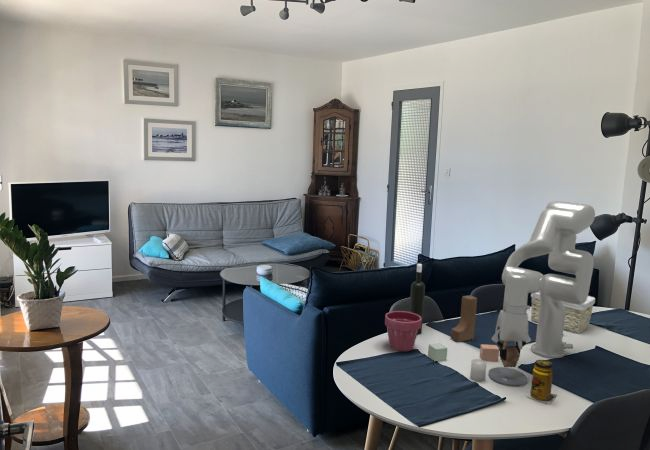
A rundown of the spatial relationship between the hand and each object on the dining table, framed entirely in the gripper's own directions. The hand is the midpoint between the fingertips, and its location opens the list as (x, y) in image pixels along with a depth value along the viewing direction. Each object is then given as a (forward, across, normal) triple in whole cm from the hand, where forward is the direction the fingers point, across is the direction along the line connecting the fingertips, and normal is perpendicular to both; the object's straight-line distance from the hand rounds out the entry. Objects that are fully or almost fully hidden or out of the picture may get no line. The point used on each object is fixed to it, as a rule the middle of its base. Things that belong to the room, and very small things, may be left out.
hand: (509, 358), depth 184 cm
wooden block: (+7, +3, -36) cm, 37 cm away
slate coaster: (+7, 0, 0) cm, 7 cm away
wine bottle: (+7, +21, -44) cm, 49 cm away
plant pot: (+8, +31, -28) cm, 42 cm away
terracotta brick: (+7, 0, -16) cm, 18 cm away
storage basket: (+7, -51, -54) cm, 74 cm away
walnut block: (+2, 0, -1) cm, 2 cm away
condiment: (+8, -6, +13) cm, 16 cm away
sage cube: (+7, +20, -17) cm, 27 cm away
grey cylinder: (+7, +11, 0) cm, 13 cm away
